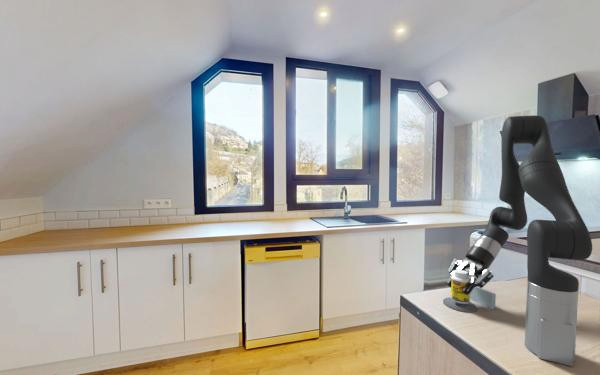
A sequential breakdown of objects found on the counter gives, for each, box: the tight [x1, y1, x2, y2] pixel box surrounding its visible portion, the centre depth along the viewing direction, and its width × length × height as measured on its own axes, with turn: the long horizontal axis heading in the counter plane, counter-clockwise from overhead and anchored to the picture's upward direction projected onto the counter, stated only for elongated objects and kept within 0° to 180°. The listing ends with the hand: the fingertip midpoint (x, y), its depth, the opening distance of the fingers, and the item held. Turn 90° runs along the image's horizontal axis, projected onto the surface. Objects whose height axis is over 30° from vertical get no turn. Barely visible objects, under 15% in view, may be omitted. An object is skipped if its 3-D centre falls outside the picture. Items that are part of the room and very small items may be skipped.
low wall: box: [470, 287, 497, 310], centre depth 93 cm, size 10×2×5 cm, turn 15°
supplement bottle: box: [450, 270, 471, 304], centre depth 91 cm, size 6×6×10 cm
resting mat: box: [442, 297, 478, 313], centre depth 91 cm, size 10×10×1 cm
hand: (456, 289), depth 90 cm, fingers closed on supplement bottle, 5 cm apart
